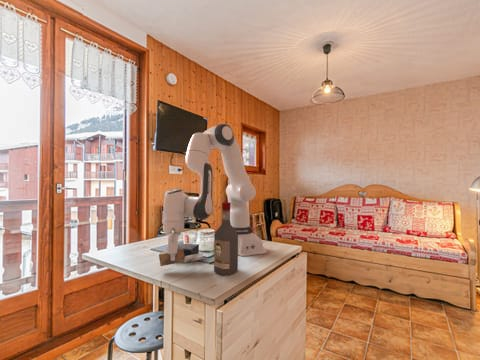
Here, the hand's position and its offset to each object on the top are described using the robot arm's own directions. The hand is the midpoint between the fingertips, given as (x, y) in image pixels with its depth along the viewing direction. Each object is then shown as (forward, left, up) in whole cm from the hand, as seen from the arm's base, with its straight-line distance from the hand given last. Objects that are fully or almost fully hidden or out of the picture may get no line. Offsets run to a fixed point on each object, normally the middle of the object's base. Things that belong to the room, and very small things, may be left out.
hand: (173, 258), depth 107 cm
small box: (-1, -19, -3) cm, 19 cm away
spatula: (-4, 0, -1) cm, 4 cm away
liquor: (-22, +5, -6) cm, 24 cm away
